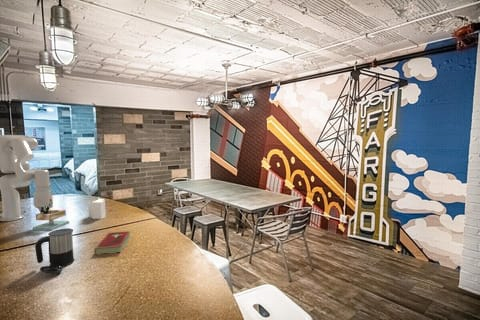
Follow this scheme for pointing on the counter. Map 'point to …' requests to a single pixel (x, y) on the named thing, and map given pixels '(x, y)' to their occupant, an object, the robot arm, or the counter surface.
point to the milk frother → (56, 250)
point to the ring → (51, 215)
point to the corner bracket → (97, 209)
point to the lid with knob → (51, 225)
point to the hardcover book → (113, 242)
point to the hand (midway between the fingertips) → (44, 216)
